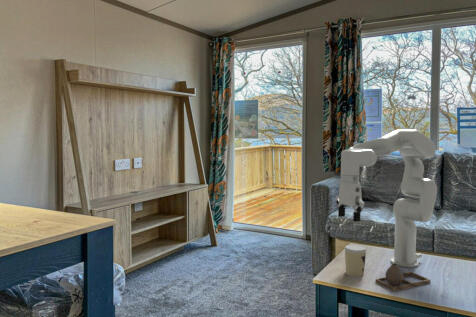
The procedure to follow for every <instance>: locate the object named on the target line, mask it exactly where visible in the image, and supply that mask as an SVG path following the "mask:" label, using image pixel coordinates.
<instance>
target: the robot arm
mask: <svg viewBox="0 0 476 317" xmlns="http://www.w3.org/2000/svg"><path fill="white" fill-rule="evenodd" d="M396 151H399V154H400V155H401V158H402V159H403V163H404V172H403V176H402V179H401V180H402V181H401V187H400V189H401V190H400V191H401V194H403V195H404V196H407V197H413V198H418V199H419V200H415V199H411V198H406V197H405V198H398V199H396V200H395V201H394V203H393V207H392V208H393V215H394V246H393V247H394V250H393V253H394V254H393V257H391V258H390V263H391V264H397V265H398V267H403V268H417V267H419V265H420V262H419V261H418V260H417V259H420V258H422V256H423V255H422V253H416V252H417V251H416V250H417V224H416V222H420V223H427V222H429V221H431V218H432V217H433V215H434V214H433V213H434V208H435V205H436V199H437V195H438V194H437V193H438V187H437V183H436V182H435V181H434V180H432V179H430V178H425V177H424V172H425V166H424V163H423V162H422V160H421V159H431V158H433V157H434V156H435V155H436V153H437V152H436V151H437V147H436V145H435V143H434V141H432V140H431V138H429V137H428V136H426V135H425V134H424V133H423V132H421V131H419V130H418V129H396V130H395V129H394V130H393V131H391V132H389V133H387V134H385V135H383V136H381V137H379V138H374V139H371V140H367V141H364V142H360V143H357V144H354V145H353V146H351V147H349V148H347V149H343V150H342V151H341V153H340V182H339V186H338V188H339V189H338V194H337V195H336V196H335V200H336V205H337V208H338V210H337V213H338V217H339V218H340V217H341V218H342V217H345V216H346V207H347V206H348V207H352V209H353V216H352V218H353V222H361V213H362V212H363V209H364V207H365V204H366V203H365V202H364V201H363V196H362V195H363V194H362V186H361V182H360V167H365V168H366V167H367V168H369V167H372V166H374V165H375V164H376V162H377V160H378V157H379V158H380V157H385V156H390V155H391V154H393V153H394V152H396ZM345 206H346V207H345Z"/></svg>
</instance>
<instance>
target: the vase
mask: <svg viewBox="0 0 476 317" xmlns="http://www.w3.org/2000/svg"><path fill="white" fill-rule="evenodd" d="M403 273H404V272H403V271H402V270H401V268H400V266H398V265H397V264H393V263H391V264H390V266H389V267H388V268H387V270H386V271H385V277H386V281H385V282H386V284H389V285H391V286H393V287H397V286H402V285H403V283H402V282H403V279H404V277H403Z"/></svg>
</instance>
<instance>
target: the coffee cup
mask: <svg viewBox="0 0 476 317" xmlns="http://www.w3.org/2000/svg"><path fill="white" fill-rule="evenodd" d="M366 253H367V249H366V247H365V246H364V245H360V244H347V245H345V246H344V259H345V260H344V261H345V274H346V275H348V276H350V277H363V276H364V274H365V265H366V257H367V255H366Z"/></svg>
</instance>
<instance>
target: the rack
mask: <svg viewBox="0 0 476 317" xmlns="http://www.w3.org/2000/svg"><path fill="white" fill-rule="evenodd" d="M402 273H403V282H402V284H401V285H400V286H397V287H394V286H391V285H389V284H388V283H387V281H386V276H381V277H376V278H375V283H376V284H378V285H380V286H382V287H384V288H386V289H388V290H390V291H393V292H398V291H402V290H406V289H411V288H415V287H419V286H423V285H427V284H431V279H430V278H428V277H425V276H423V275H420V274H418V273H416V272H413V271H407V272H402ZM410 276H411V277H414V278H415V279H418V280H419V281H416V282H411V281H408V280H406V279H404V277H405V278H406V277H410Z"/></svg>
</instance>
